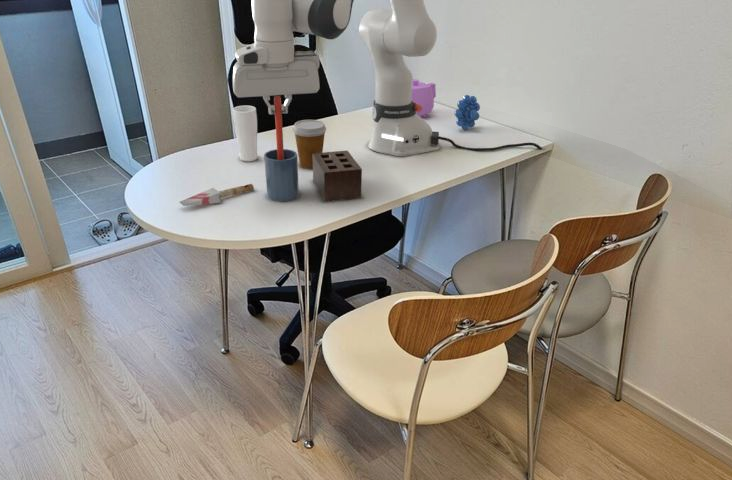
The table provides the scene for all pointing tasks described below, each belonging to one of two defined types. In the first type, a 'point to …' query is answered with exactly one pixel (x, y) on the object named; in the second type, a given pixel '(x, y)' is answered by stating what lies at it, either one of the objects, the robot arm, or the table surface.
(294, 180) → the tumbler
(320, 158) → the caddy
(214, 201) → the grey and wooden tool
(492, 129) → the table surface
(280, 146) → the straw
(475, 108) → the grapes
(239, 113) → the drinking glass
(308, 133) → the disposable coffee cup
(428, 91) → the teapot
